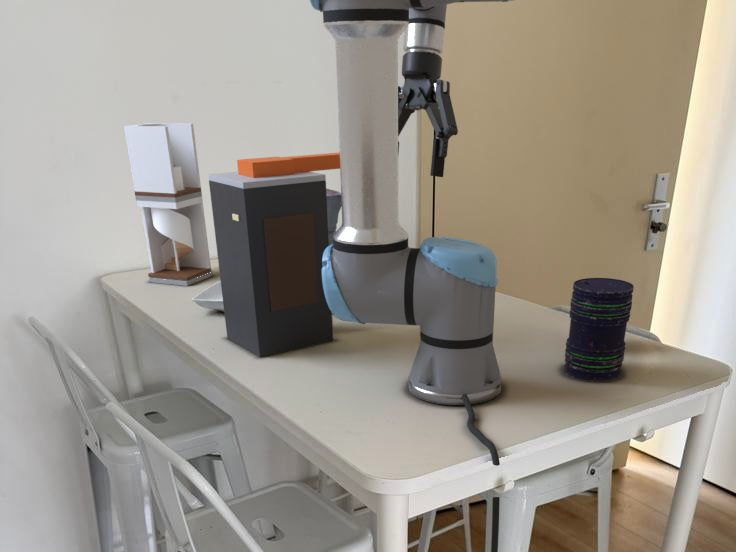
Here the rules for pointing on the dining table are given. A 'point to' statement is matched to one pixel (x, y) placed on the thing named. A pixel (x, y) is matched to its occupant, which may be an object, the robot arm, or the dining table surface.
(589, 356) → the dark blue cylinder
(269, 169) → the key
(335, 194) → the moka pot
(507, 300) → the dining table surface
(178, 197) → the white tall stand
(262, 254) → the tall dark grey cabinet
